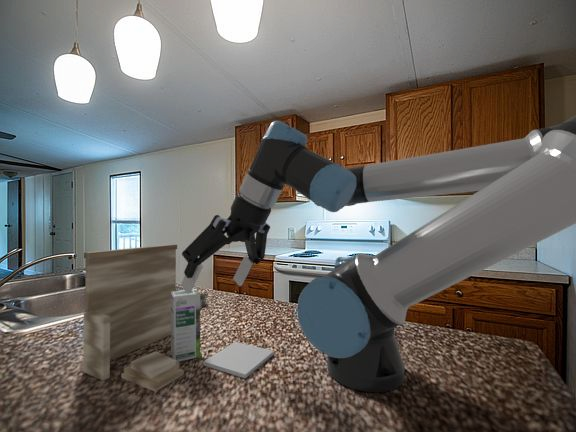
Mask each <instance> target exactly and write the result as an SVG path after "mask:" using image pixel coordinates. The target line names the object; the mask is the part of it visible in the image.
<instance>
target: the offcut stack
mask: <svg viewBox="0 0 576 432" xmlns="http://www.w3.org/2000/svg"><path fill="white" fill-rule="evenodd" d="M123 368H124V369H123V370H124V371H123V372H122V373H120V375H121V377H120V378H122V379H124V380H127V381H129V382H130V383H133V384H136V385H138V386H140V387H143V388H145V389H148V390H151V391H153V392H155V393H156V392H158V391H159V390H161V389H162V388H165V386H167V385H169V384H170V383H172V382H174V381H175V380H177V379H179V378H180V377H182V376H183V375H185V374H184V372H185V370H183V369H181V368H180V362H178V361H176V360H175V359H173V358H172V357H170V356H168V355H166V354H163V353H161V352H159V351H153V352H151V353H148V354H146V355H144V356H142V357H139V358H136V359H135V360H132V361H130V364H129V365H127V366H125V367H123Z"/></svg>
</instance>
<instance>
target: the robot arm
mask: <svg viewBox="0 0 576 432" xmlns="http://www.w3.org/2000/svg"><path fill="white" fill-rule="evenodd" d="M260 140H261V142H260V144H259V146H258V148H257V151H256V153H255V155H254V158H253V161H252V162H251V165H250V167H249V168H248V170H247V172H246V174H245V177H244V179H243V180H242V183H241V184H240V187H239V189H238V190H239V192H238V193H237V194H236V196H235V197H234V200H233V201H232V204H231V206H230V215H229V216H228V217H227V218H222V217H221V216H220V215H219V214H216V215H214V216H213V218H212V220H211V222H210V223H209V225H208V226H207V227H206V228H205V229H203V230H202V232H201V233H200V234H198V236H197V237H196V238H195V239H194V240H193V241H192V242H191V243H190V244H189V245H188V246H187V247H186V248H185V249H184V250H183V251H182V252H181V256H183V258H184V260H185V261H186V262H187V265H186V266H185V269H184V272H183V274H184V277H183V279H182V280H181V284H180V286H181V287H182V289H183V290H185V291H186V293H187V294H189V293H191V291H192V289H194V287H195V284H196V283H197V280H198V278H199V276H200V273H201V272H202V269H203V267H204V266H203V264H202V263H204V262H205V261H206V260H207V259H209V258H210V257H212V256H213V255H214V254H215V253H217V252H219V250H220V249H222V248H223V247H225V245H230V244H232V243H233V242H234V243H237V242H241V243H244V244H245V250H246V254H247V255H245V256H243V259H242V260H241V262H240V264H239V266H238V268H237V270H236V272H235V274H234V276H233V278H232V280H233V281H234V282H235V283H236V284H237V285H238V287H242V285H243V284H244V282H245V280H246V278H247V276H248V274H249V273H250V272H251V270H252V268H253V266H254V264H255V265H259V264H260V263H261V260H264V258H265V256H266V246H267V240H268V239H267V238H268V233H269V232H270V229H271V225H269V224H268V223H267V220H268V218H269V217H270V215H271V212H272V208H273V207H275V206H276V203H277V201H278V200H279V197H280V195H281V193H282V191H283V188H284V187H285V185H286V186H288V187H289V188H292V189H293V190H295V191H296V192H298V193H299V194H300V195H301V196H303V197H305V198H307V200H310V201H311V202H313V203H314V205H315V206H317V207H321V208H322V209H324V210H326V211H328V212H330V213H337V212H339V211H340V210H341V209H343V208H345V207H351V206H355V205H357V204H367V203H373V202H383V201H395V200H403V199H414V198H422V197H423V198H424V197H430V196H431V197H432V196H440V195H441V196H442V195H452V194H459V193H461V194H462V193H463V194H464V193H470V192H472V193H473V192H476V193H473V194H472V195H470V196H469V197H467V198H466V199H463V200H462V201H460V202H459V203H457V204H455V205H454V206H453V207H451V208H450V209H449V208H448V210H446V211H445V212H443V213H441V214H440V215H437V216H436V217H435V218H434V219H432V220H430V221H429V222H426V223H425V224H423V225H421V226H420V227H418V228H417V229H415V230H414V231H412V232H411V233H409V234H408V235H405V236H404V237H402V238H401V239H399V240H397V241H396V242H394V243H393V244H391V245H390V246H388V247H387V248H385V249H383V250H381V251H380V252H379V253H377V254H375V255H370V254H365V253H358V254H356V255H355V256H353V257H345V256H339V257H337V258H336V259H335V263H334V267H333V268H334V269H333V270H331V271H329V272H328V273H326V274H325V275H322V276H319V277H316V278H314V279H311V281H310V282H308V284H307V285H306V286H304V288H303V289H302V291H301V292H300V294H299V296H298V299H297V309H296V313H297V314H296V315H297V320H298V324H299V327H300V329H301V331H302V333H303V334H304V337H305V338H306V339H307V341H308V342H309V343H310V345H311V346H313V347H314V348H315V349H316V350H318V351H319V352H322V353H324V354H325V355H326V358H327V359H326V361H327V364H326V365H327V367H326V368H327V372H328V374H329V375H330V376H331V378H333V380H335V381H336V382H338V383H339V384H341V385H343V386H345V387H347V388H349V389H353V390H355V391H360V392H366V393H367V392H368V393H386V392H391V391H393V390H396V389H398V388H399V387H400V386H402V385H403V383H404V382H405V363H404V360H403V358H402V355H401V352H400V348H399V345H398V342H397V340H396V336H395V328H396V327H397V326H400V325H402V324H404V323H405V322H406V317H407V313H408V309H409V308H410V307H412V306H414V305H416V304H418V303H420V302H422V301H424V300H426V299H429V297H432V296H434V295H436V294H438V293H440V292H442V291H444V290H446V289H448V288H450V287H452V286H454V285H456V284H458V283H460V282H462V281H464V280H466V279H468V278H470V277H471V276H474V275H476V274H477V273H478V274H479V273H480V272H481V271H484V270H485V269H488V268H490V267H492V266H494V265H496V264H498V263H500V262H501V261H504V260H505V259H508V258H510V257H511V256H513V255H516V254H517V253H520V252H522V251H524V250H526V249H528V248H530V247H532V246H534V245H536V244H537V243H540V242H541V241H543V240H546V239H548V238H550V237H551V236H554V235H556V234H557V233H560V232H561V231H564V230H565V229H568V228H570V227H571V226H573V225H576V114H575V115H572V117H570V118H569V119H567V120H566V121H564V122H563V123H560V124H556V125H552V126H547V127H543V128H537V129H533V130H531V131H530V132H529V133H528V134H527V135H526V136H525V137H523V138H518V139H511V140H506V141H500V142H494V143H488V144H482V145H477V146H470V147H466V148H460V149H453V150H447V151H443V152H437V153H435V152H434V153H430V154H425V155H419V156H418V155H417V156H412V157H407V158H402V159H401V158H400V159H396V160H390V161H383V162H378V163H377V162H376V163H373V164H371V163H370V164H367V165H360V166H355V167H349V168H346V167H345V166H342V165H341V164H338V163H336V162H334V161H332V160H330V159H328V158H327V157H324V156H322V155H321V154H318V153H316V152H314V151H312V150H310V149H309V148H308V147H306V146H307V143H308V135H306V134H305V133H304V132H301V131H300V130H298V129H296V128H295V127H292V126H290V125H288V124H287V123H285V122H283V121H281V120H274V121H272V122H271V123H270V125H269V127H268V128H267V129H266V132H265V134H264V136H263V137H262V138H261V139H260Z"/></svg>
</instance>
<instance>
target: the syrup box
mask: <svg viewBox="0 0 576 432" xmlns="http://www.w3.org/2000/svg"><path fill="white" fill-rule="evenodd" d="M200 294H201V293H200V292H199V290H198V289H196V288H193V289H192V291H191V293H189V294H187V293H186V291H185V290H184V289H183V290H176V291H173V292H171V335H170V355H171V358H173V359H175V360H176V361H178V362H179V363H180V362H184V361H188V360H192V359H198V358H200V357H201V308H200Z"/></svg>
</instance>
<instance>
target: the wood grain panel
mask: <svg viewBox="0 0 576 432" xmlns="http://www.w3.org/2000/svg"><path fill="white" fill-rule="evenodd" d="M177 250H178V244H175V243H174V244H164V245H163V244H161V245H152V246H142V247H141V246H140V247H130V248H119V249H118V248H117V249H108V250H99V251H98V250H96V251H87V252H85V251H84V252H83V259H85V282H84V283H85V284H84V285H85V286H84V287H85V289H84V290H85V291H84V292H85V293H84V294H85V295H84V296H85V298H84V300H85V301H84V302H85V303H84V312H83V342H82V343H83V352H82V353H83V359H82V360H83V361H82V363H83V364H82V365H83V366H82V367H83V368H82V371H83V373H85V374H87V375H89V376H92V377H94V378H95V379H99V380H100V381H105V380H107V379H109V378H110V372H111V370H110V365H111V364H110V363H111V361H114V360H116V359H117V358H118V359H119V358H122V357H123V356H125V355H127V354H130V353H132V352H134V351H136V350H139V349H142V348H144V347H146V346H148V345H151V344H153V343H155V342H157V341H159V340H163V339H164V338H166V337H169V336H171V292H173V291H177V290H176V289H177V288H176V284H177V283H176V282H177V279H176V278H177V277H176V276H177V275H176V274H177Z"/></svg>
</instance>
